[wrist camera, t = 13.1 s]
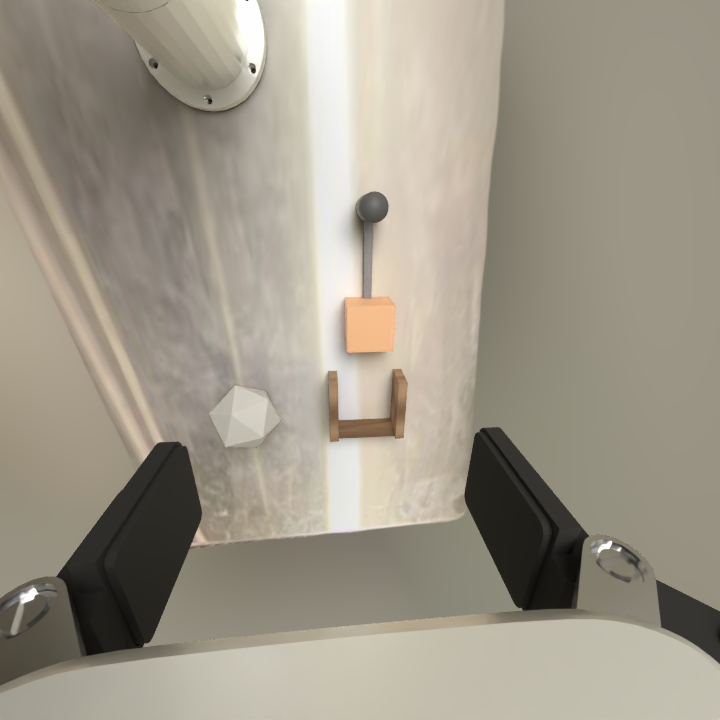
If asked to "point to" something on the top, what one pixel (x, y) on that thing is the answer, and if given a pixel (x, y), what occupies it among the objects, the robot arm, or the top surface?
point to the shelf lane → (370, 426)
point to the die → (244, 417)
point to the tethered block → (369, 292)
